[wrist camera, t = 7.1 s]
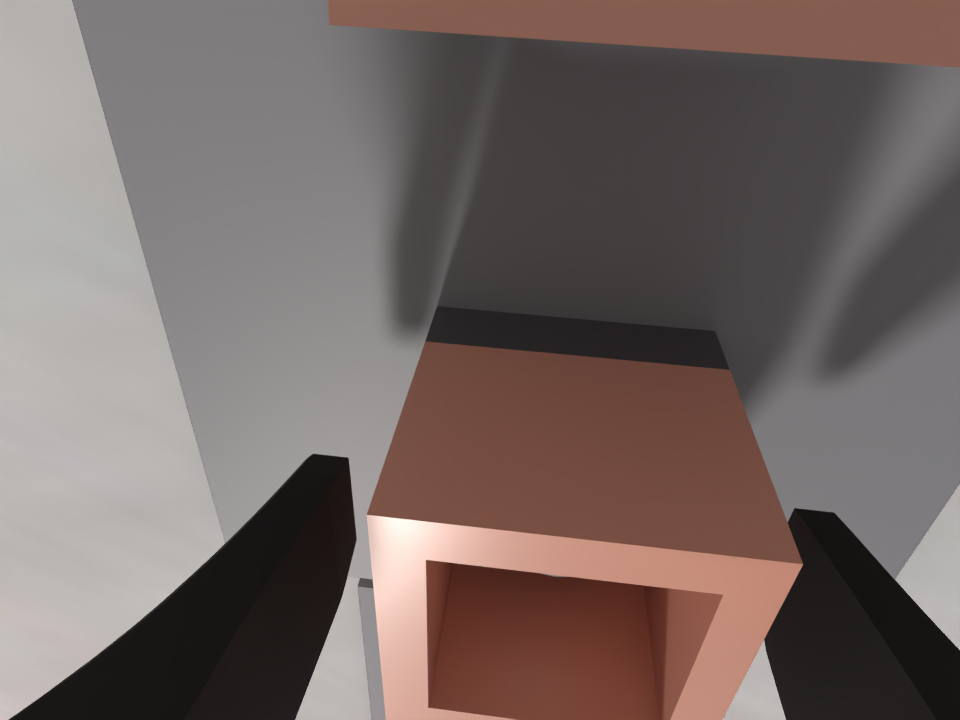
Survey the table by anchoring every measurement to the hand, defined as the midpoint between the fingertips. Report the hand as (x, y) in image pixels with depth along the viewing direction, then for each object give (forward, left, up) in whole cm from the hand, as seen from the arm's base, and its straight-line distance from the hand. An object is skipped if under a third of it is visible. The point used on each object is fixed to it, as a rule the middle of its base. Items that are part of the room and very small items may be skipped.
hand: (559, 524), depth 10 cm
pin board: (0, -5, -4) cm, 7 cm away
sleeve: (0, 0, -3) cm, 3 cm away
